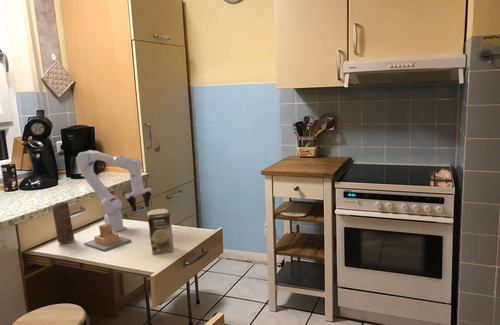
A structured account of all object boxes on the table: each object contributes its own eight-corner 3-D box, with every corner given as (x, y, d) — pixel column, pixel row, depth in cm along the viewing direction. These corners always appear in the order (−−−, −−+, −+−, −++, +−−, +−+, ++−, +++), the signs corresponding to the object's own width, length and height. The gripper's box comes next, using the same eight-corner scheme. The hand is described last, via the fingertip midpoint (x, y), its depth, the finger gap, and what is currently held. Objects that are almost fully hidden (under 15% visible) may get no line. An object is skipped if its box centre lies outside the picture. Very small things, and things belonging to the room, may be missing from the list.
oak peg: (101, 242, 195) (99, 225, 193) (109, 239, 198) (106, 223, 196) (106, 243, 192) (103, 226, 191) (113, 240, 195) (111, 224, 194)
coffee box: (151, 255, 174) (147, 218, 172) (153, 250, 180) (148, 214, 178) (173, 252, 175) (169, 216, 173) (174, 247, 181) (170, 212, 179)
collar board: (84, 245, 196) (83, 236, 195) (110, 235, 206) (109, 228, 206) (104, 251, 184) (103, 243, 183) (131, 241, 194) (130, 233, 194)
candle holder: (173, 231, 204) (170, 208, 202) (167, 238, 194) (164, 213, 193) (154, 232, 205) (151, 209, 203) (147, 239, 195) (144, 215, 194)
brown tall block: (68, 245, 198) (61, 204, 195) (54, 245, 199) (47, 205, 196) (77, 239, 205) (71, 200, 202) (64, 239, 207) (58, 201, 204)
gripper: (129, 186, 203) (133, 213, 205) (153, 180, 213) (157, 205, 215) (121, 186, 207) (125, 212, 209) (145, 179, 218) (149, 204, 220)
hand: (140, 208), depth 213 cm, fingers open, 7 cm apart
